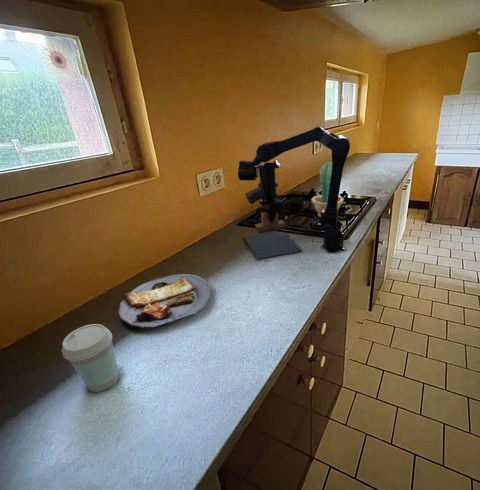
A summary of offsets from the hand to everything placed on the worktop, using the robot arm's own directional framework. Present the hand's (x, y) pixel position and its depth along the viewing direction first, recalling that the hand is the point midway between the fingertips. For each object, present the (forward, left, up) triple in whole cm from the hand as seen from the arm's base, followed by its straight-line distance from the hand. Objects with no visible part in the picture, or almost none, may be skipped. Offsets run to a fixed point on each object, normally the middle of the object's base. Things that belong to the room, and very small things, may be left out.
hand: (270, 221), depth 116 cm
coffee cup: (+53, +51, -10) cm, 74 cm away
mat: (0, +1, -10) cm, 10 cm away
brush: (0, 0, -4) cm, 4 cm away
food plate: (+40, +27, -10) cm, 49 cm away
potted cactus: (-36, -22, -10) cm, 43 cm away
